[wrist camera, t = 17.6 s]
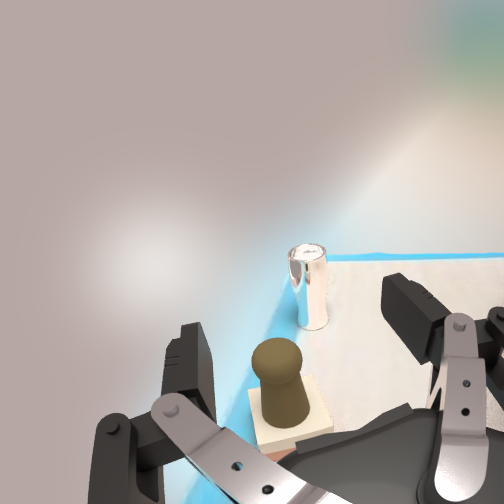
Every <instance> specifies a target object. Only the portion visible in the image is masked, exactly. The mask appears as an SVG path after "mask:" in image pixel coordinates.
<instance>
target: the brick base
mask: <svg viewBox="0 0 504 504" xmlns="http://www.w3.org/2000/svg"><path fill="white" fill-rule="evenodd" d="M301 379H302V382H303V385H304V388H305V391H306V394H307V397H308V400H309V404H310V412H309V415H308V416H307V418H306V419H305V420H304V421H303V422H302V423H301V424H299V425H297V426H295V427H292V428H287V429H281V428H276V427H273V426H270V425H269V424H268V423H267V422H265V420H264V418H263V416H262V408H261V387H258V388H254V389H249V390H248V394H249V399H250V405H251V411H252V416H253V422H254V427H255V432H256V438H257V443H258V447H259V449H260V452H261V453H262V454H264V455H265V456H267V457H268V458H269V459H271V460H272V461H279V460H280V459H282V458H283V457H284V456H286V455H287V454H289V453H290V452H292V451H294V450H296V445H295V442H297V441H301V440H305V439H308V438H312V437H315V436H319V435H322V434H327V433H333V430H334V425H333V422H332V420H331V417H330V415H329V412H328V410H327V407H326V405H325V402H324V400H323V397H322V395H321V393H320V390H319V388H318V385H317V383H316V380H315V378H314V375H313V374H311V375H307V376H304V377H301Z"/></svg>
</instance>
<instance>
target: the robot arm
mask: <svg viewBox="0 0 504 504" xmlns="http://www.w3.org/2000/svg"><path fill="white" fill-rule="evenodd" d="M381 311H382V314H383V317H384V318H385V320H386V321H387V322H388V323H389V325H390V326H391V327H392V328H393V330H394V331H395V332H396V333H397V335H398V336H399V337H400V339H401V340H402V341H403V342H404V344H405V345H406V346H407V348H408V349H409V350H410V351H411V353H412V354H413V355H414V357H415V358H416V359H417V361H418V362H419V363H420V365H423V364H425V363H427V362H429V361H431V363H432V366H431V371H430V381H429V389H428V396H427V402H426V406H425V408H417V409H411V407H410V405H409V404H408V403H405V404H403V405H401V406H399V407H396V408H394V409H392V410H389V411H387V412H385V413H382V414H381V415H380V416H378V417H377V418H375V419H374V420H372V421H371V422H369V423H368V424H366V425H365V426H363V427H362V428H360V429H358V430H355V431H346V432H337V433H327V434H322V435H319V436H315V437H312V438H308V439H305V440H301V441H297V442H295V445H296V450H294V451H292V452H290V453H289V454H287V455H286V456H284V457H283V458H282V459H280V460H279V461H278V462H277V463H275V462H274V461H272V460H271V459H269V458H268V457H267V456H265V455H264V454H262V453H261V452H259V451H258V450H257V449H255V448H254V447H253V446H251V445H250V444H248V443H247V442H246V441H244V440H243V439H242V438H240V437H239V436H238V435H237V434H235V433H234V432H233V431H231V430H230V429H228V428H226V427H223V428H221V427H220V426H218V425H217V420H216V407H215V393H214V377H213V362H212V356H211V352H210V348H209V346H208V343H207V340H206V337H205V335H204V332H203V329H202V326H201V324H200V322H196V323H191V324H186V325H182V326H181V337H180V338H177V339H172V341H171V342H170V344H169V345H168V347H167V348H166V355H165V359H166V360H165V364H164V367H165V368H164V372H163V381H162V391H161V397H159V398H158V399H157V400H156V401H155V402H154V403H153V405H152V407H151V411H149V412H147V413H145V414H143V415H140V416H137V417H135V418H132V419H128V417H126V416H125V415H123V414H120V413H112V414H109V415H107V416H105V417H104V418H103V419H101V421H100V422H99V423H98V425H97V429H96V434H95V440H94V447H93V455H92V463H91V471H90V481H89V492H88V504H165V495H164V478H163V465H165V464H168V463H171V462H173V461H176V460H179V459H181V458H185V459H186V460H187V461H188V462H189V463H190V464H191V465H192V466H193V467H194V468H195V469H196V470H197V471H198V472H199V473H200V474H201V475H202V476H204V477H205V478H206V479H207V480H208V481H209V482H210V483H211V484H212V485H213V486H214V487H215V488H216V489H217V490H219V491H220V492H221V493H222V494H223V495H224V496H225V497H226V498H227V499H229V500H230V501H231V502H232V503H233V504H504V432H501V431H498V430H495V429H491V428H488V427H486V386H487V387H488V389H489V390H490V392H491V393H492V394H493V396H494V397H495V399H496V400H497V402H498V403H499V405H500V406H501V407H502V409H503V410H504V358H503V357H502V356H501V355H502V352H503V350H504V307H494V308H492V309H490V311H489V313H488V316H487V319H481V320H475V321H474V320H473V319H472V318H471V317H469V316H468V315H466V314H463V313H453V314H452V313H451V312H450V311H449V310H448V309H447V308H446V307H445V306H444V305H443V304H442V303H441V302H440V301H438V300H437V299H436V298H435V297H433V295H432V294H431V293H430V292H428V290H426V289H425V288H424V287H423V286H422V285H421V284H419V283H416V282H414V281H412V280H410V281H409V280H408V279H407V278H405V277H404V276H403V275H402V274H401V273H396V274H392V275H389V276H386V277H384V278H383V281H382V295H381Z"/></svg>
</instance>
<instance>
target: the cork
mask: <svg viewBox="0 0 504 504" xmlns="http://www.w3.org/2000/svg"><path fill="white" fill-rule="evenodd" d="M302 361H303V360H302V354H301V351H300V349H299V347H298V346H297V345H296V344H295V343H294V342H292V341H290V340H289V339H285V338H272V339H268V340H266V341H264V342H262V343H261V344H259V345H258V346H257V348H256V349H255V350H254V352H253V355H252V368H253V371H254V372H255V374H256V375H257V377H258V378H259V379H260V387H261V408H262V416H263V418H264V420H265V422H267V423H268V424H269V425H270V426H273V427H276V428H281V429H287V428H292V427H295V426H297V425H299V424H301V423H302V422H303V421H304V420H305V419H306V418H307V416H308V415H309V412H310V404H309V400H308V397H307V394H306V391H305V388H304V385H303V382H302V379H301V376H300V373H299V372H300V370H301V367H302Z"/></svg>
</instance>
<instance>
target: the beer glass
mask: <svg viewBox="0 0 504 504" xmlns="http://www.w3.org/2000/svg"><path fill="white" fill-rule="evenodd" d="M288 261H289V276H290V282H291V286H292V289H293V292H294V295H295V298H296V301H297V304H298V319H297V321H298V324H299V326H300V327H301V328H303V329H306V330H317V329H320V328H322V327H324V326H325V325H326V324H327V322H328V314H327V310H326V296H327V290H328V281H329V271H328V262H327V256H326V249H325V248H324V247H323V246H321V245H317V244H303V245H299V246H296V247H294V248H292V249H291V250H290V251H289V252H288Z"/></svg>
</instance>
